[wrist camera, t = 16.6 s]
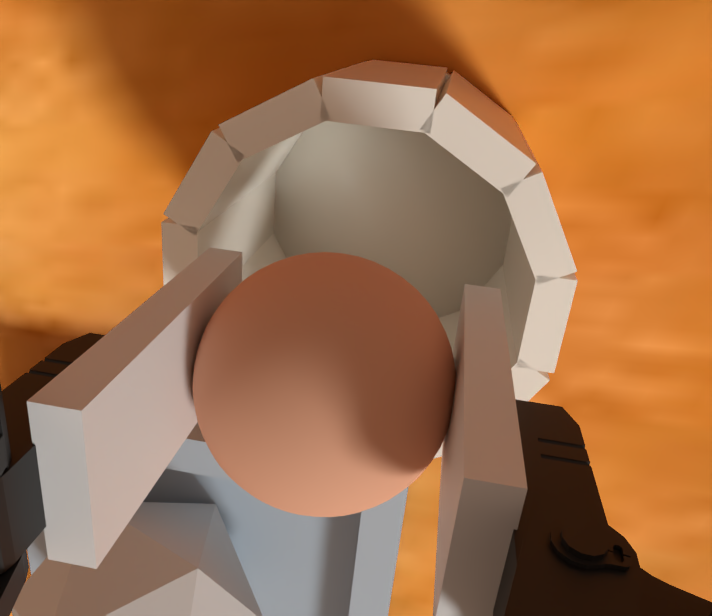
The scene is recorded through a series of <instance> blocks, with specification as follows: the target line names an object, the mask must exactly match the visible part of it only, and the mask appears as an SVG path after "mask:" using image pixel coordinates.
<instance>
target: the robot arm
mask: <svg viewBox="0 0 712 616" xmlns="http://www.w3.org/2000/svg"><path fill="white" fill-rule="evenodd" d="M242 261H243V252H239V251H232V250H225V249H218V248H211V247H210V248H208V249H207V250H206V251H205V252H204V253H203V254H201V255H200V256H199V257H198V258H197V259H195V260H194V261H193V262H192V263H191V264H189V265H188V266H187V267H186V268H185V269H183V270H182V271H181V272H180V273H179V274H177V275H176V276H175V277H174V278H173V279H172V280H170V281H169V282H168V283H167V284H166V285H164V286H163V287H162V288H161V289H160V290H158V291H157V292H156V293H155V294H154V295H152V296H151V297H150V298H149V299H148V300H147V301H145V302H144V303H143V304H142V305H141V306H139V307H138V308H137V309H136V310H135V311H133V312H132V313H131V314H130V315H129V316H127V317H126V318H125V319H124V320H123V321H122V322H120V323H119V324H118V325H117V326H116V327H114V328H113V329H112V330H111V331H110V332H108V333H107V334H106V335H99V334H93V333H89V334H86V335H84V336H81V337H79V338H76V339H74V340H71V341H69V342H66V343H64V344H62V345H61V346H60V347H58V348H57V349H56V350H55V351H53V352H52V353H51V354H49V355H48V356H47V357H45V361H40V362H39V363H38V364H36V365H35V366H34V367H33V368H31V369H30V372H29V373H25V374H24V375H22V376H21V377H20V378H18V379H17V380H16V381H14V382H13V383H12V384H11V385H9V386H8V387H7V388H5V389H4V390H3V391H1V384H0V616H9V615H10V613H11V611H12V609H13V607H14V605H15V602H16V600H17V598H18V596H19V594H20V592H21V590H22V588H23V585H24V583H25V581H26V577H27V572H28V568H29V567H28V560H27V554H26V550H27V548H28V547H29V546H30V545H31V544H32V543H33V541H34V540H35V539H36V538H37V537H38V536H39V534H40V533H41V532H42V531H43V530H44V533H45V541H46V548H47V555H48V559H49V560H54V561H59V562H64V563H69V564H74V565H79V566H84V567H89V568H94V569H97V568H98V566H99V565H100V563H101V562H102V560H103V559H104V558H105V556H106V555H107V553H108V552H109V550H110V549H111V547H112V546H113V544H114V543H115V542H116V540H117V539H118V537H119V536H120V534H121V533H122V531H123V530H124V528H125V527H126V526H127V524H128V523H129V521H130V520H131V518H132V517H133V515H134V514H135V512H136V511H137V510H138V508H139V507H140V505H141V504H142V502H143V501H144V499H145V498H146V496H147V495H148V493H149V492H150V491H151V489H152V488H153V486H154V485H155V483H156V482H157V480H158V479H159V477H160V476H161V475H162V473H163V472H164V470H165V469H166V467H167V466H168V464H169V463H170V461H171V460H172V459H173V457H174V456H175V454H176V453H177V451H178V450H179V448H180V447H181V445H182V444H183V443H184V441H185V440H186V438H187V437H188V435H189V434H190V432H191V431H192V429H193V428H194V427H195V425H196V424H197V422H198V421H197V416H196V412H195V406H194V399H193V373H194V363H195V359H196V354H197V350H198V347H199V344H200V341H201V339H202V336H203V333H204V331H205V328H206V326H207V324H208V323H209V321H210V319H211V317H212V316H213V314H214V312H215V311H216V309H217V308H218V307H219V305H220V304H221V303H222V302H223V300H224V299H225V298H226V297H227V295H228V294H229V293H230V292H231V291H232V290H234V289H235V288H236V287H237V286H238V285H239V284H240V283H241V282H242ZM453 358H454V363H455V370H456V379H455V390H454V399H453V405H452V412H451V418H450V423H449V427H448V431H447V433H446V436H445V438H444V440H443V446H442V464H441V482H440V500H439V517H438V535H437V553H436V571H435V589H434V607H433V616H712V602H710V601H707V600H705V599H702V598H700V597H698V596H695V595H693V594H690V593H688V592H686V591H683V590H681V589H679V588H676V587H674V586H671V585H669V584H667V583H665V582H663V581H661V580H659V579H657V578H655V577H653V576H652V575H650V574H649V573H647V572H646V571H644V570H643V569H641V568H640V565H639V562H638V558H637V554H636V552H635V551H634V549H633V548H632V547H631V545H630V544H629V543H628V542H627V540H626V539H625V538H624V537H623V536H622V535H621V534H619V533H618V532H617V531H615V530H614V529H613V528H612V527H610V526H609V525H608V523H607V520H606V516H605V513H604V509H603V506H602V503H601V499H600V496H599V492H598V489H597V485H596V482H595V478H594V475H593V472H592V468H591V466H589V464H590V461H589V458H588V454H587V451H586V449H585V444H584V440H583V437H582V434H581V430H580V427H579V425H578V424H577V423H576V422H575V421H574V420H573V418H572V417H571V416H570V415H569V414H568V413H567V412H566V411H565V410H564V409H563V407H559V406H553V405H547V404H541V403H535V402H528V401H522V400H516V399H515V393H514V385H513V378H512V371H511V363H510V356H509V349H508V341H507V334H506V327H505V319H504V312H503V305H502V297H501V290H500V289H497V288H490V287H483V286H476V285H469V284H465V285H464V290H463V296H462V302H461V307H460V313H459V319H458V324H457V330H456V336H455V342H454V347H453Z"/></svg>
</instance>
